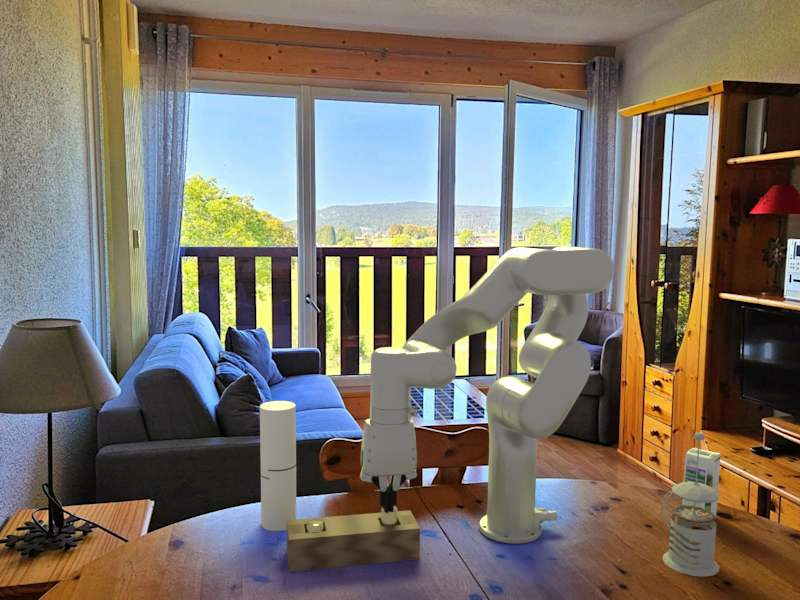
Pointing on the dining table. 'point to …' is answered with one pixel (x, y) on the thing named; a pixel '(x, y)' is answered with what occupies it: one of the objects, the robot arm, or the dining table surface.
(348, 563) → the tan peg holder block
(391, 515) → the inner brass pin
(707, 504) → the syrup box
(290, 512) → the cylindrical container
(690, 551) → the french press
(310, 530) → the outer brass pin
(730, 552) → the dining table surface
